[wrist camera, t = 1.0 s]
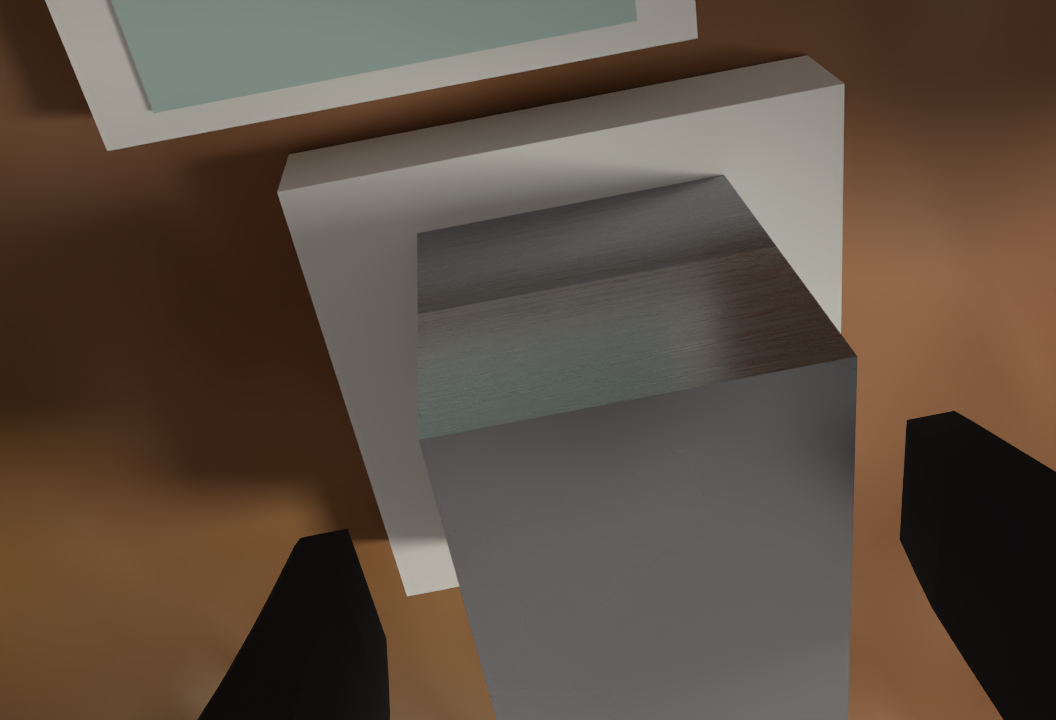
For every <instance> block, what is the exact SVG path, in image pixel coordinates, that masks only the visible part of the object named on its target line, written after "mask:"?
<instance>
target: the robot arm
mask: <svg viewBox="0 0 1056 720" xmlns="http://www.w3.org/2000/svg"><path fill="white" fill-rule="evenodd" d="M900 541H901V543H902V545H903V547H904V550H905V552H906V554H907V556H908V558H909V561H910V563H911V565H912V567H913V569H914V572H915V574H916V576H917V578H918V580H919V582H920V584H921V586H922V588H923V590H924V592H925V594H926V596H927V598H928V601H929V603H930V605H931V607H932V609H933V610H934V612H935V613H936V615H937V617H938V618H939V620H940V622H941V623H942V625H943V626H944V628H945V630H946V631H947V633H948V634H949V636H950V637H951V639H952V641H953V642H954V644H955V645H956V647H957V648H958V650H959V652H960V653H961V655H962V656H963V658H964V659H965V661H966V663H967V664H968V666H969V667H970V669H971V670H972V672H973V673H974V675H975V676H976V678H977V680H978V681H979V683H980V684H981V686H982V687H983V689H984V690H985V692H986V693H987V695H988V696H989V698H990V700H991V701H992V703H993V704H994V706H995V707H996V709H997V710H998V712H999V713H1000V715H1001V717H1002V718H1003V720H1056V472H1055V471H1053V470H1052V469H1050V468H1048V467H1047V466H1045V465H1043V464H1042V463H1040V462H1039V461H1037V460H1035V459H1034V458H1032V457H1030V456H1029V455H1027V454H1025V453H1024V452H1022V451H1020V450H1019V449H1017V448H1016V447H1014V446H1012V445H1011V444H1009V443H1007V442H1006V441H1004V440H1002V439H1001V438H999V437H998V436H996V435H994V434H993V433H991V432H989V431H988V430H986V429H984V428H983V427H981V426H979V425H978V424H976V423H974V422H973V421H971V420H969V419H968V418H966V417H964V416H962V415H961V414H959V413H957V412H955V411H951V412H946V413H941V414H936V415H931V416H926V417H920V418H915V419H910V420H907V427H906V443H905V460H904V477H903V493H902V510H901V527H900ZM198 720H390V704H389V679H388V661H387V643H386V637H385V634H384V631H383V628H382V625H381V623H380V620H379V617H378V614H377V611H376V608H375V605H374V603H373V600H372V597H371V594H370V591H369V588H368V585H367V583H366V580H365V577H364V574H363V571H362V568H361V565H360V562H359V560H358V557H357V554H356V551H355V548H354V545H353V542H352V540H351V537H350V534H349V531H348V529H344V530H339V531H334V532H328V533H323V534H318V535H313V536H308V537H303V538H300V539H299V541H298V542H297V543H296V545H295V546H294V548H293V550H292V552H291V554H290V556H289V558H288V560H287V562H286V564H285V566H284V568H283V570H282V572H281V574H280V576H279V578H278V580H277V582H276V584H275V586H274V588H273V590H272V592H271V594H270V595H269V597H268V599H267V601H266V603H265V605H264V607H263V609H262V611H261V613H260V614H259V616H258V618H257V620H256V622H255V624H254V626H253V627H252V629H251V631H250V633H249V635H248V636H247V638H246V640H245V642H244V643H243V645H242V647H241V649H240V650H239V652H238V654H237V656H236V657H235V659H234V661H233V663H232V664H231V666H230V668H229V670H228V671H227V673H226V675H225V677H224V678H223V680H222V682H221V683H220V685H219V687H218V688H217V690H216V691H215V693H214V695H213V696H212V698H211V699H210V701H209V702H208V704H207V706H206V707H205V709H204V710H203V712H202V713H201V715H200V717H199V718H198Z"/></svg>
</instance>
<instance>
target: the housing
mask: <svg viewBox="0 0 1056 720" xmlns="http://www.w3.org/2000/svg"><path fill="white" fill-rule="evenodd" d="M417 296H418V427H419V443H420V447H421V450H422V454H423V458H424V461H425V465H426V468H427V472H428V476H429V479H430V483H431V486H432V490H433V494H434V497H435V501H436V504H437V508H438V511H439V515H440V519H441V522H442V526H443V529H444V533H445V537H446V540H447V544H448V547H449V551H450V555H451V558H452V562H453V565H454V569H455V572H456V576H457V580H458V583H459V587H460V590H461V594H462V598H463V601H464V605H465V608H466V612H467V615H468V619H469V623H470V626H471V630H472V633H473V637H474V641H475V644H476V648H477V651H478V655H479V659H480V662H481V666H482V669H483V673H484V676H485V680H486V684H487V687H488V691H489V694H490V698H491V702H492V705H493V709H494V712H495V716H496V719H497V720H848V700H849V661H850V622H851V583H852V543H853V504H854V465H855V426H856V387H857V355H856V354H855V353H854V351H853V350H852V349H851V347H850V346H849V344H848V343H847V342H846V340H845V339H844V338H843V336H842V335H841V334H840V332H839V331H838V329H837V328H836V327H835V325H834V324H833V323H832V321H831V320H830V319H829V317H828V316H827V314H826V313H825V312H824V310H823V309H822V308H821V306H820V305H819V304H818V302H817V301H816V299H815V298H814V297H813V295H812V294H811V293H810V291H809V290H808V289H807V287H806V286H805V284H804V283H803V282H802V280H801V279H800V278H799V276H798V275H797V274H796V272H795V271H794V269H793V268H792V267H791V265H790V264H789V263H788V261H787V260H786V259H785V257H784V256H783V254H782V253H781V252H780V250H779V249H778V248H777V246H776V245H775V244H774V242H773V241H772V239H771V238H770V237H769V235H768V234H767V233H766V231H765V230H764V229H763V227H762V226H761V224H760V223H759V222H758V220H757V219H756V218H755V216H754V215H753V213H752V212H751V211H750V209H749V208H748V207H747V205H746V204H745V203H744V201H743V200H742V198H741V197H740V196H739V194H738V193H737V192H736V190H735V189H734V188H733V186H732V185H731V183H730V182H729V181H728V179H727V178H726V177H725V175H720V176H715V177H709V178H704V179H699V180H694V181H689V182H683V183H678V184H673V185H668V186H662V187H657V188H652V189H647V190H641V191H636V192H631V193H626V194H620V195H615V196H610V197H605V198H600V199H594V200H589V201H584V202H579V203H573V204H568V205H563V206H558V207H552V208H547V209H542V210H537V211H531V212H526V213H521V214H516V215H511V216H505V217H500V218H495V219H490V220H484V221H479V222H474V223H469V224H463V225H458V226H453V227H448V228H443V229H437V230H432V231H427V232H422V233H417Z"/></svg>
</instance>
